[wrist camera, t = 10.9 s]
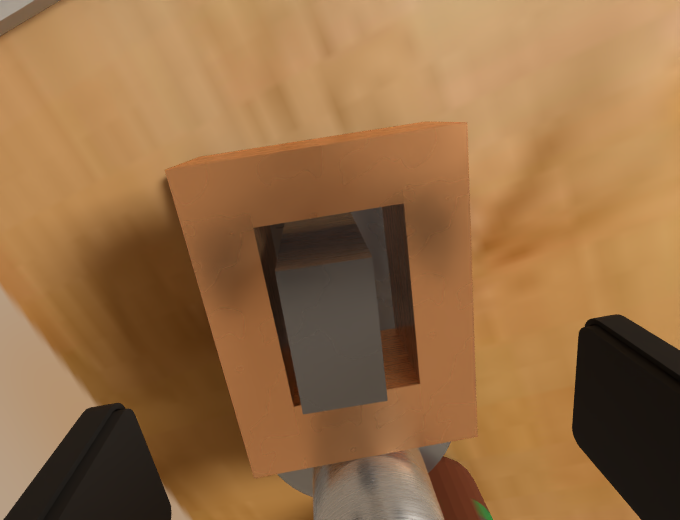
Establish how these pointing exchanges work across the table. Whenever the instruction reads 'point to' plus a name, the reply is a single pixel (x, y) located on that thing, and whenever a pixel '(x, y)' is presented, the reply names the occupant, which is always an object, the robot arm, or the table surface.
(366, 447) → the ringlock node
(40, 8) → the adjustable wrench
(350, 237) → the grey rectangular block
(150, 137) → the table surface
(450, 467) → the bottle
